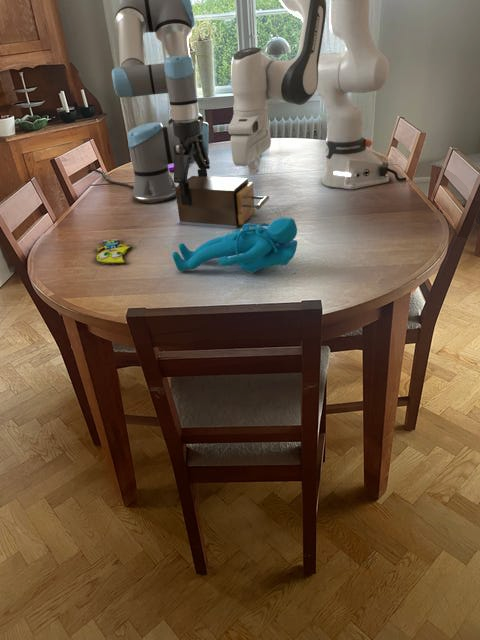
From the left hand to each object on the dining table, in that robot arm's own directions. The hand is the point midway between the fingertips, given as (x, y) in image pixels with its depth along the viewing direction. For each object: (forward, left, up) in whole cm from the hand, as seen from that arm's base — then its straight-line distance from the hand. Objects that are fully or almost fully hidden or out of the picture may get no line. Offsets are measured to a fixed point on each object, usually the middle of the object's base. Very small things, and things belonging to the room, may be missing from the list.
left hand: (196, 197), depth 143 cm
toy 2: (+35, -14, -6) cm, 38 cm away
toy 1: (+3, -31, -6) cm, 31 cm away
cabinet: (+5, +3, -6) cm, 8 cm away
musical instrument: (-58, +30, -6) cm, 66 cm away
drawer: (+10, +5, -5) cm, 12 cm away
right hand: (+17, +9, +8) cm, 21 cm away
